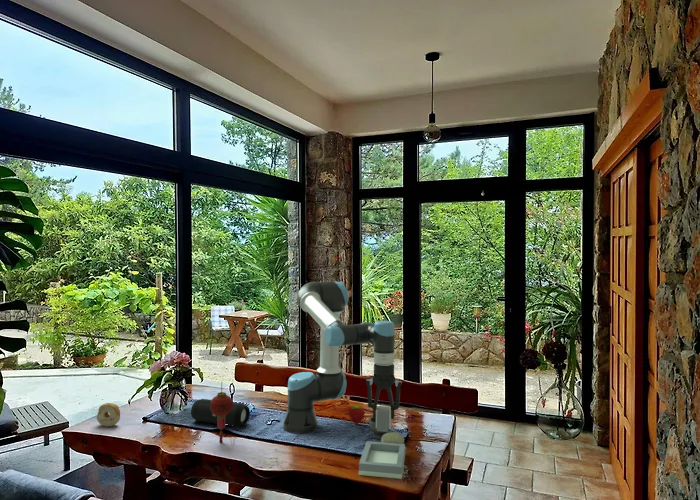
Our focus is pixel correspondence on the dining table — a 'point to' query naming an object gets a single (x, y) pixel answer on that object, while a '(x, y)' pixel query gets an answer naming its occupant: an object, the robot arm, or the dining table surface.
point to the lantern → (221, 409)
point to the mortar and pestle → (373, 428)
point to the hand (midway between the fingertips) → (383, 426)
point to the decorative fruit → (356, 414)
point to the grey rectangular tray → (382, 460)
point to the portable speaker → (203, 413)
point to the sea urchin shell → (392, 438)
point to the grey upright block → (383, 418)
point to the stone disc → (104, 416)
